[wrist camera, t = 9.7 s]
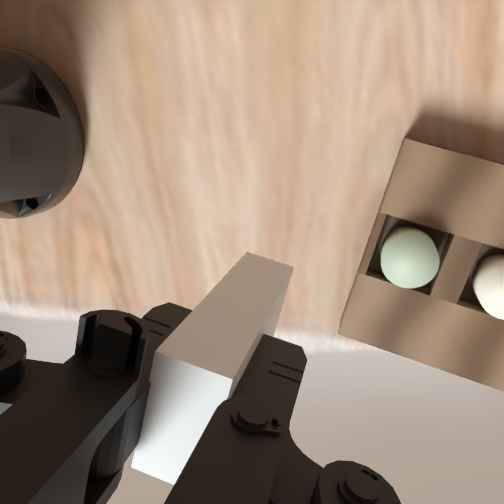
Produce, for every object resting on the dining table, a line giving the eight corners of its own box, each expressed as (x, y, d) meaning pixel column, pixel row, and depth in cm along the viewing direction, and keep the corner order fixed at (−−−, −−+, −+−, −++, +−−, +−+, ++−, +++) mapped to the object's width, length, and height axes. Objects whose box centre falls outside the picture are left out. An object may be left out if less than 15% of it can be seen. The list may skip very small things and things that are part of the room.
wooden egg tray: (340, 319, 42) (337, 333, 39) (403, 137, 37) (405, 138, 34) (582, 401, 39) (597, 424, 36) (689, 214, 34) (716, 223, 31)
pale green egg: (373, 266, 38) (373, 278, 36) (391, 219, 37) (391, 227, 34) (424, 282, 38) (427, 295, 35) (443, 234, 36) (448, 244, 34)
